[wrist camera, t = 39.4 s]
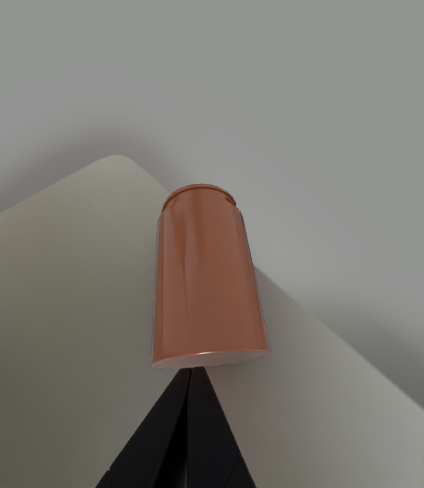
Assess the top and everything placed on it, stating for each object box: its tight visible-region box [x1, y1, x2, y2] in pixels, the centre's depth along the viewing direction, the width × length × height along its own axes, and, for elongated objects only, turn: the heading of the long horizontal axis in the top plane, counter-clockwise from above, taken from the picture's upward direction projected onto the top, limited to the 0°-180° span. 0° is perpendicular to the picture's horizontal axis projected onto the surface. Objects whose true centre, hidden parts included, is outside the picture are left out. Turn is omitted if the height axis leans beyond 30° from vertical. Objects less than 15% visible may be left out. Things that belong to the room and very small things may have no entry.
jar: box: [151, 184, 271, 368], centre depth 14 cm, size 6×6×10 cm
